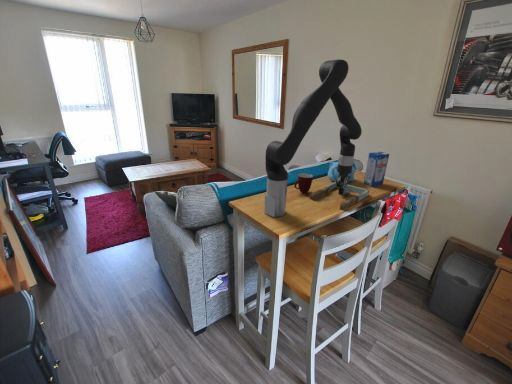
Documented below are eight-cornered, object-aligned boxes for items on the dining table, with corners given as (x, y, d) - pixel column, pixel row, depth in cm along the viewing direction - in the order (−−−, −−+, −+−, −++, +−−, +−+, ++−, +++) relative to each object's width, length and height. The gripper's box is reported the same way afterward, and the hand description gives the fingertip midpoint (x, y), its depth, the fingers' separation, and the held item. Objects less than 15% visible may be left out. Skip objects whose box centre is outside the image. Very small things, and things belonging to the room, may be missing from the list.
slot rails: (343, 210, 124) (344, 204, 122) (310, 199, 136) (310, 194, 135) (357, 201, 134) (358, 196, 133) (325, 191, 146) (325, 186, 145)
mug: (299, 196, 139) (301, 179, 135) (290, 191, 145) (291, 175, 141) (313, 193, 144) (315, 176, 140) (304, 188, 150) (306, 172, 147)
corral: (358, 201, 134) (359, 196, 133) (324, 191, 147) (324, 186, 146) (368, 195, 143) (369, 190, 142) (335, 186, 156) (335, 181, 155)
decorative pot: (327, 176, 175) (329, 156, 170) (351, 178, 171) (354, 158, 166) (327, 183, 160) (329, 162, 155) (354, 186, 157) (357, 164, 152)
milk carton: (374, 182, 165) (380, 151, 157) (382, 185, 160) (389, 153, 152) (363, 183, 161) (369, 152, 154) (371, 187, 156) (377, 155, 148)
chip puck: (346, 197, 140) (347, 191, 138) (336, 194, 143) (337, 188, 142) (351, 194, 144) (352, 188, 142) (341, 191, 147) (342, 185, 146)
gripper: (346, 167, 126) (341, 199, 133) (357, 162, 135) (352, 192, 142) (332, 164, 131) (328, 195, 137) (344, 160, 140) (339, 189, 146)
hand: (340, 193), depth 140 cm, fingers closed
